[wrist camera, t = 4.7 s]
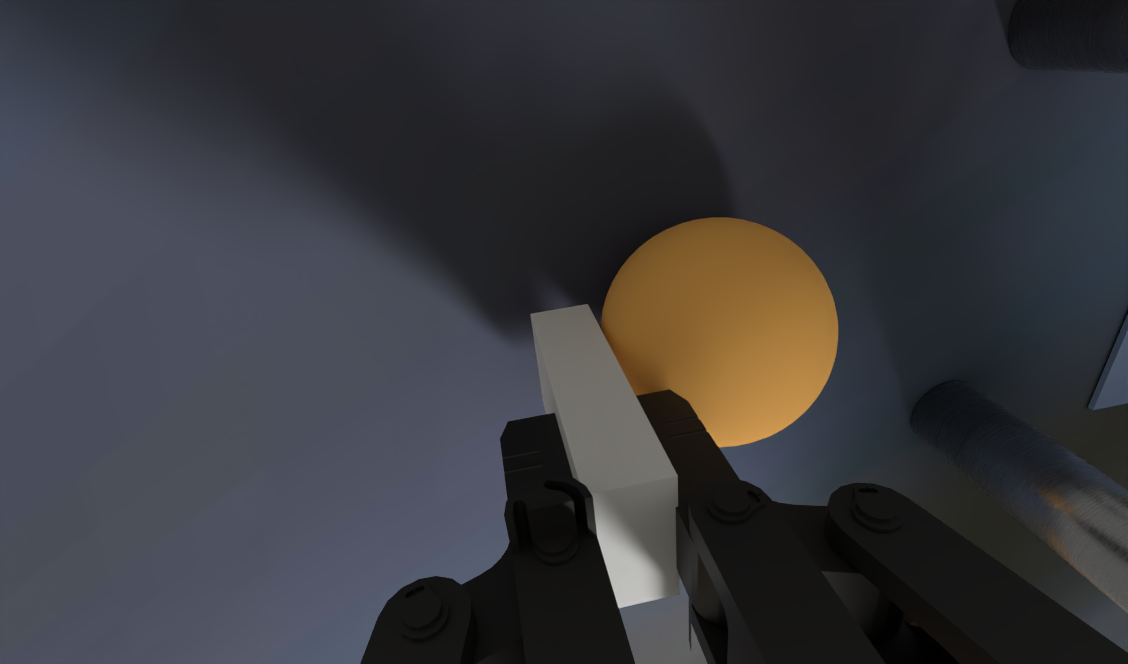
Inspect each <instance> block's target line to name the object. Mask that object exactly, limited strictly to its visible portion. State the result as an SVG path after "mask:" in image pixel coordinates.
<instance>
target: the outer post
mask: <svg viewBox="0 0 1128 664" xmlns="http://www.w3.org/2000/svg"><path fill="white" fill-rule="evenodd" d="M1009 44H1010V49H1011V52H1012V54H1013V56H1014V58H1015V59H1016V60H1017V62H1019V63H1020V64H1021V65H1023V66H1024V67H1027V68H1032V69H1047V70H1066V71H1084V72H1103V73H1122V74H1128V0H1019V1H1018V3H1017V5H1016V7H1015V9H1014V12H1013V15H1012V18H1011V23H1010V28H1009Z"/></svg>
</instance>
